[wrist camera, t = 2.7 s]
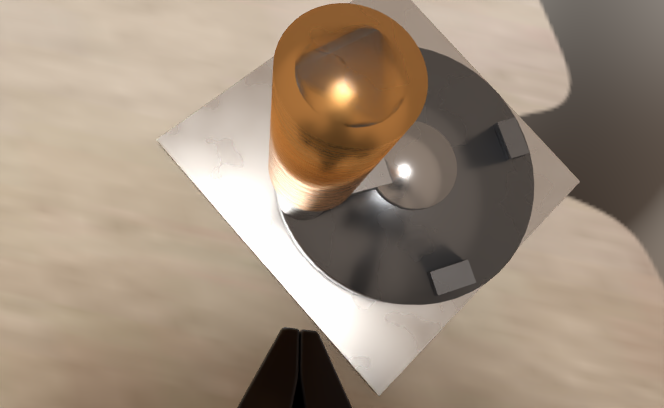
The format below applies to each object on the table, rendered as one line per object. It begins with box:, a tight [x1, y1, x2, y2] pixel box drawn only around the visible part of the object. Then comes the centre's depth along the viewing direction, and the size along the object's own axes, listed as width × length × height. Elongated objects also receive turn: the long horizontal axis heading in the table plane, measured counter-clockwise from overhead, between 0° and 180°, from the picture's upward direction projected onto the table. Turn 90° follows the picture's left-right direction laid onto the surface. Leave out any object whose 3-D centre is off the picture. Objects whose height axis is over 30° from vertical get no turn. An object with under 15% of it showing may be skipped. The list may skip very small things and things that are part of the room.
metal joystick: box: [268, 3, 534, 305], centre depth 15 cm, size 12×12×12 cm
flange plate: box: [156, 0, 580, 396], centre depth 19 cm, size 15×15×3 cm
